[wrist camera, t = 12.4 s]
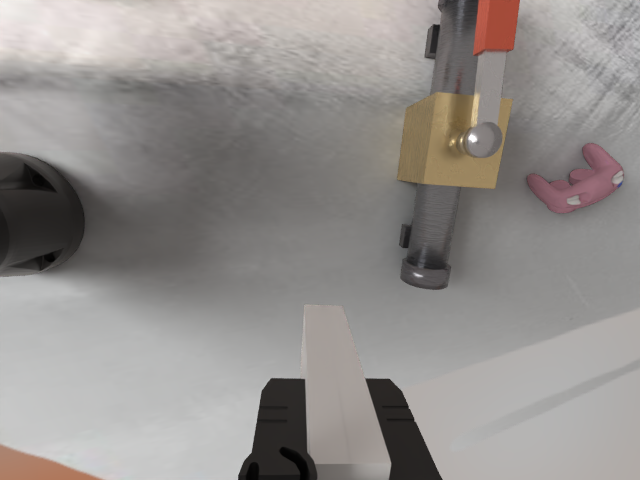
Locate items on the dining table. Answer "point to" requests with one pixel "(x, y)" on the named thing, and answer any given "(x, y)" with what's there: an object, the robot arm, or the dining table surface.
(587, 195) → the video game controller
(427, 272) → the valve pipe
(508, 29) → the lever
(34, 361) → the dining table surface
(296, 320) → the dining table surface
